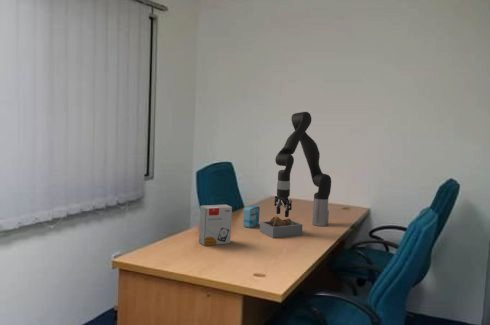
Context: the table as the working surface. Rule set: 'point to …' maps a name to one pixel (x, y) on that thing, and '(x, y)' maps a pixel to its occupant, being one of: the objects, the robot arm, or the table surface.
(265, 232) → the bin
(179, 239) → the table surface
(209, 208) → the hard drive box
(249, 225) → the data package
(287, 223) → the lion figurine
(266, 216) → the table surface
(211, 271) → the table surface
